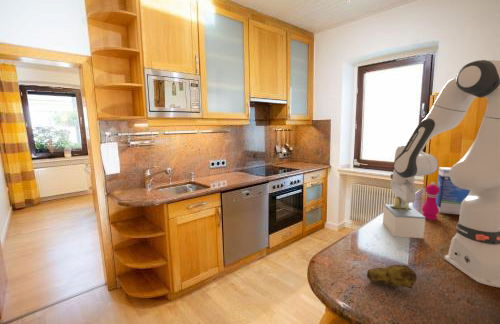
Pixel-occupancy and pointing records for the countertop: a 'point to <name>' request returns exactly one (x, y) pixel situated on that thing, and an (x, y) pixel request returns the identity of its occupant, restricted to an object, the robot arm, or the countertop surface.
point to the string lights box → (449, 193)
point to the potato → (393, 276)
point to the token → (397, 204)
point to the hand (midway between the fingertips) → (401, 205)
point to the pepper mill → (431, 202)
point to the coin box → (404, 222)
